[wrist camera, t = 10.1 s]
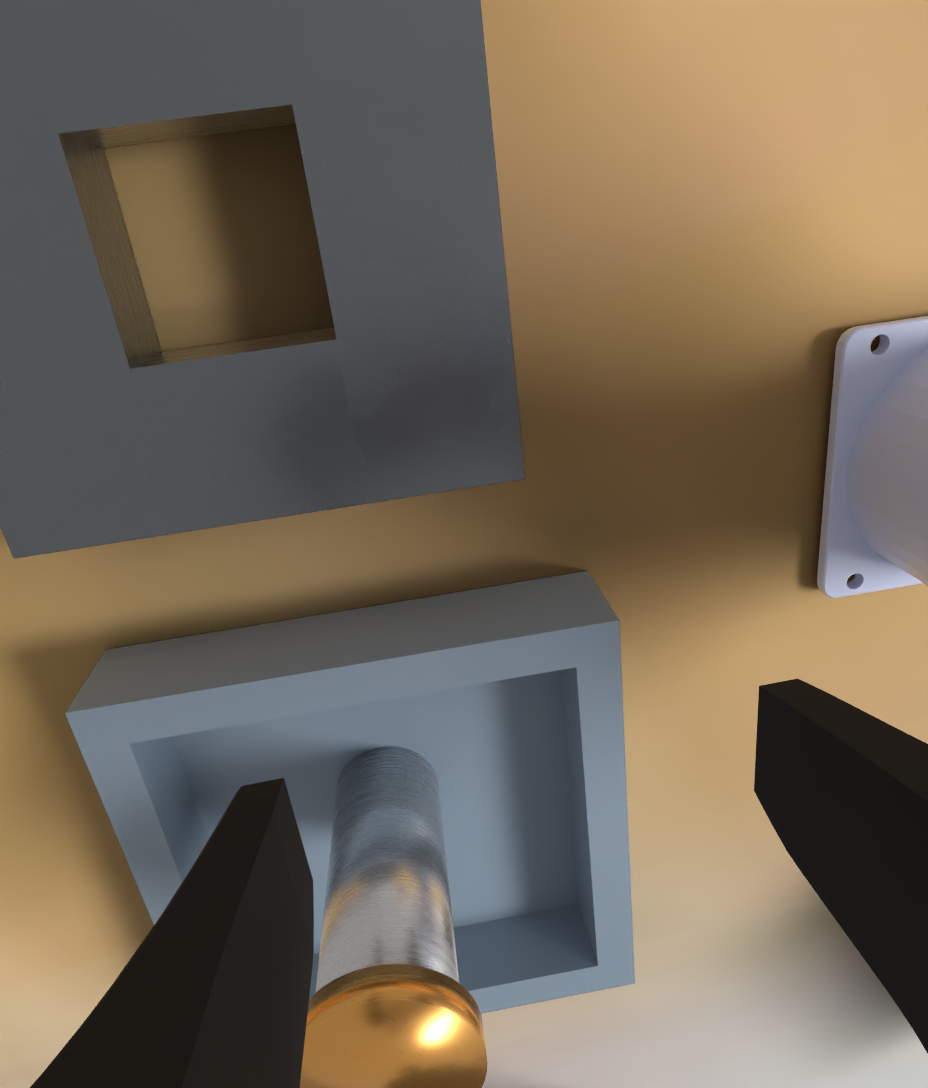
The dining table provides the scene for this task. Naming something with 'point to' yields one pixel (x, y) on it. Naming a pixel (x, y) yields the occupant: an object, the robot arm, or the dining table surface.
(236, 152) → the dining table surface
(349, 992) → the pin
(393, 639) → the tray
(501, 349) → the grey square frame
